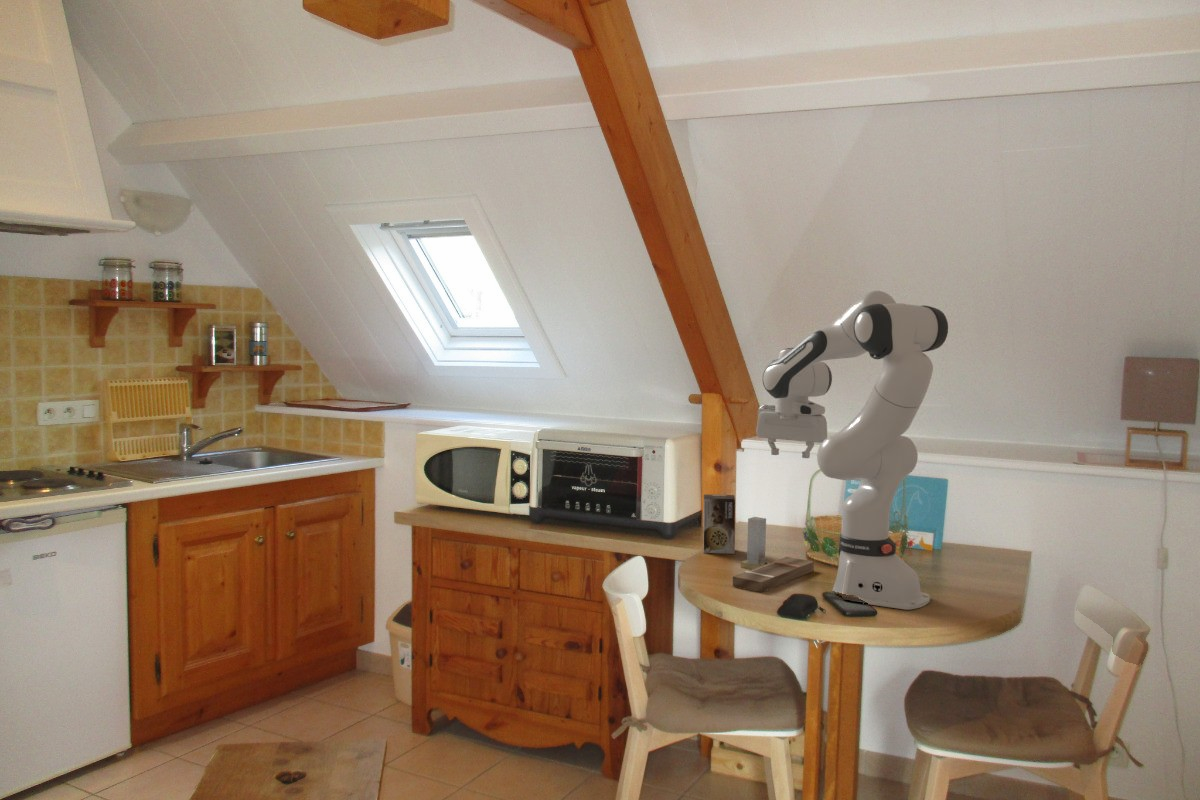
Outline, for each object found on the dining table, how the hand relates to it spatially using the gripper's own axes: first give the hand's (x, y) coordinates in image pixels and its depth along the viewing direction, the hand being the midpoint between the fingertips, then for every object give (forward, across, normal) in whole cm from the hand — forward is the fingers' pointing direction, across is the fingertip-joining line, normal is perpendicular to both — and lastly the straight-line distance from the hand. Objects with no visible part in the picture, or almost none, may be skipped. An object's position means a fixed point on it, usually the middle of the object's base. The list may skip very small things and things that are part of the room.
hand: (790, 456), depth 258 cm
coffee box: (+29, -20, -4) cm, 36 cm away
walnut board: (+29, +7, -20) cm, 36 cm away
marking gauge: (+29, -2, -14) cm, 32 cm away
